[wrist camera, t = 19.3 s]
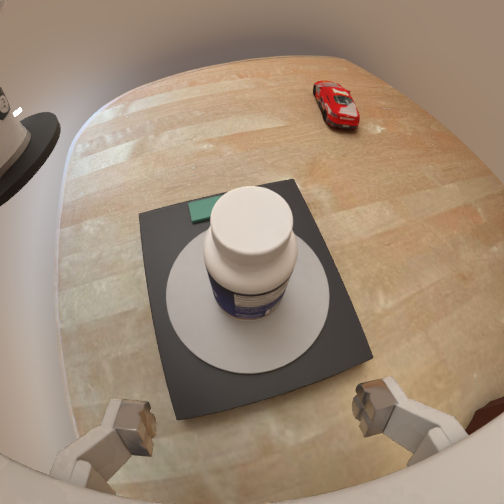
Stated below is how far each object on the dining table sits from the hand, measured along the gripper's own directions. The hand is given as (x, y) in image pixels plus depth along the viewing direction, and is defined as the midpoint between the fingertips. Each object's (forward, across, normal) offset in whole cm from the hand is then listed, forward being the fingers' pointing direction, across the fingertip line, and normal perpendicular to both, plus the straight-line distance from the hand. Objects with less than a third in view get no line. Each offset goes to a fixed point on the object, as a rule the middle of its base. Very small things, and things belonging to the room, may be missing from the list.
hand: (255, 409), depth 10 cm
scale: (+16, 0, +2) cm, 16 cm away
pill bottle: (+13, -1, +1) cm, 13 cm away
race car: (+36, -17, -18) cm, 44 cm away
